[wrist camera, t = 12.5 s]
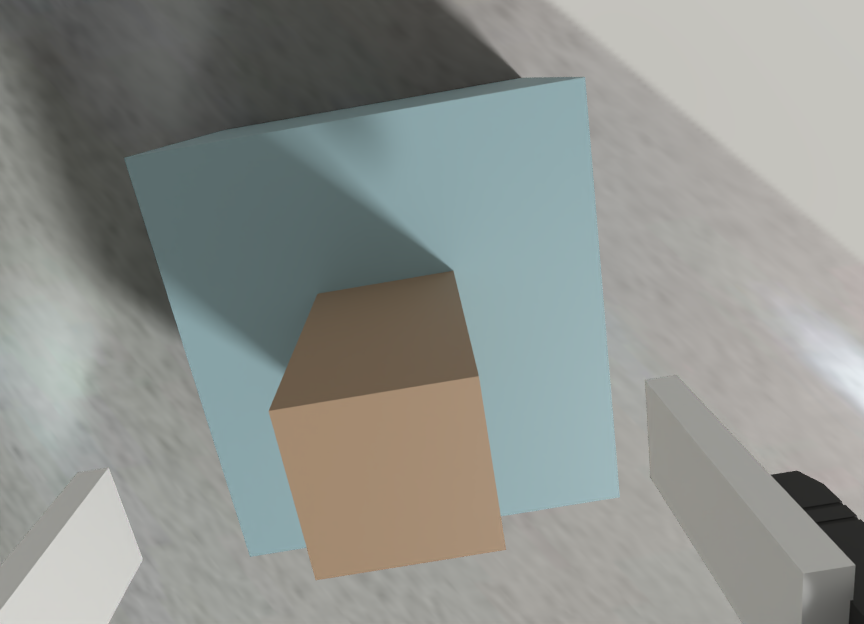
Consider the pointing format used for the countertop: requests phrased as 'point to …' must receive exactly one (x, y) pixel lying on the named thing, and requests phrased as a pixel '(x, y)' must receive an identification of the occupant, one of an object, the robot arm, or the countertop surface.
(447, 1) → the countertop surface
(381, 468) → the pale blue storage box
